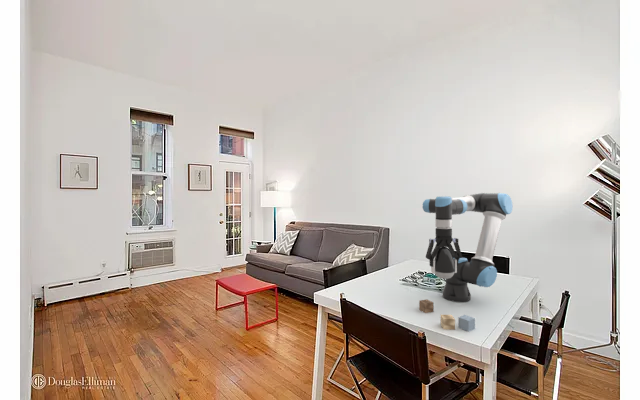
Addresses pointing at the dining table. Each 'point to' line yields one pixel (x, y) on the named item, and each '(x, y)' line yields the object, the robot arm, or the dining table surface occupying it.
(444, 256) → the black rounded cone
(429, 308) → the walnut cube
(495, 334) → the dining table surface
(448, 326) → the maple cube
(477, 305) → the dining table surface
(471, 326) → the slate cube
